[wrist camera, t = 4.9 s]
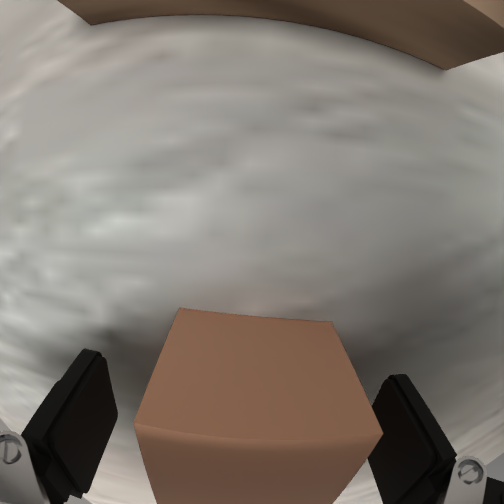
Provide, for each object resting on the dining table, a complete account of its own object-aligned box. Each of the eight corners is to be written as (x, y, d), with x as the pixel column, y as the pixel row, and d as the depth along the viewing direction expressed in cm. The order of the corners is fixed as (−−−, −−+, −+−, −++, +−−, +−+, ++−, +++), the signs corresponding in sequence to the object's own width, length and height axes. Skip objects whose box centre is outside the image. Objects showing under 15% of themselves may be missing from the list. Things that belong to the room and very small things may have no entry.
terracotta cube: (330, 320, 10) (383, 433, 5) (300, 418, 11) (319, 518, 6) (179, 306, 9) (133, 422, 5) (181, 410, 11) (160, 511, 6)
